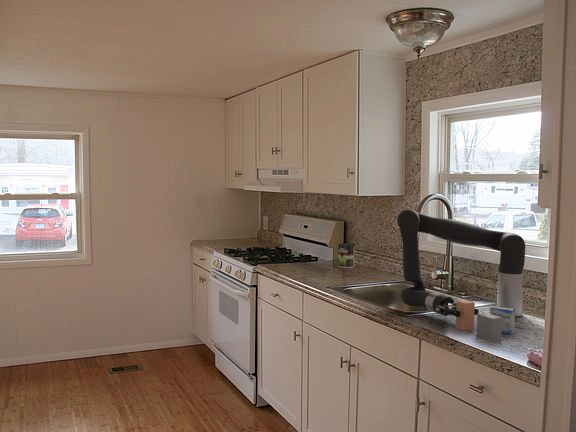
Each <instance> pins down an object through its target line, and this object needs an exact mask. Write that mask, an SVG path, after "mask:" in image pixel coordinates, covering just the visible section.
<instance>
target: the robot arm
mask: <svg viewBox="0 0 576 432" xmlns="http://www.w3.org/2000/svg"><path fill="white" fill-rule="evenodd" d="M396 222H397V226H398V228H399V232H400V235H401V242H402V270H403V278H404V280H405V281H406V282H408V283H411V284H412V287H411V286H410V287H405V288H403V289H402V290H401V293H400V299H401V301H402V302H403V303H404V304H405V305H407V306H409V307H410V306H411V307H417V308H419V307H420V308H423V309H426V310H429V311H431V312H433V313H436V314H438V315H441V316H444V317H447V316H451V317H455V318H456V317H460V311H458V310H456V305H457V301H455V300H454V299H453V298H452V297H451V296H449V295H445V294H441V293H437V292H434V291H433V292H432V291H429V290H427V289H426V288H425V284H424V281H423V278H422V275H421V260H420V254H419V253H420V252H419V233H421V234H422V233H423V234H427V235H431V236H434V237H436V238H439V239H442V240H445V241H448V242H451V243H454V244H459V245H464V246H474V247H485V248H488V249H491V250H494V251H498V252H500V257H499V259H500V260H499V264H498V270H497V271H498V273H497V292H496V293H497V294H496V297H497V298H496V306H498V307H505V308H512V309H515V317H520V316H522V315H523V311H524V310H523V309H524V291H523V275H524V274H523V272H524V267H525V261H526V259H525V258H526V242H525V240H524V238H523V237H522V236H520V235H519V234H517V233H515V232H508V231H498V230H492V229H489V228H484V227H481V226H480V225H476V224H472V223H469V222H465V221H462V220H457V219H450V218H445V217H444V218H443V217H433V216H431V215H425V214H422V213H420V212H418V211H415V210H414V209H404V210H402V211H400V212H399V214H398V215H397V218H396ZM477 314H480V311H479V309H478V308H476V307H475V311H474V316H477Z"/></svg>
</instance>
